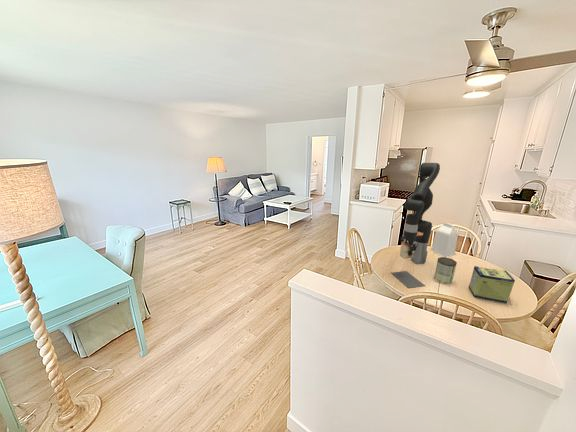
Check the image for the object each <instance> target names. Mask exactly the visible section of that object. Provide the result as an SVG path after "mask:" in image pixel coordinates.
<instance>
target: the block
mask: <svg viewBox="0 0 576 432" xmlns="http://www.w3.org/2000/svg"><path fill="white" fill-rule="evenodd" d="M412 245H413V244H412ZM412 245H410V246H412ZM408 246H409V245H408V244H407V243H404V242H402V243H401V242H400V249H399V251H400V252H399V257H400V258H402V259H404V260H408V259H411V258H414V251H412V255H411V256H408V251H409V247H408ZM410 248H411V247H410Z"/></svg>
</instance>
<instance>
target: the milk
mask: <svg viewBox="0 0 576 432" xmlns="http://www.w3.org/2000/svg"><path fill="white" fill-rule="evenodd" d="M458 235H459V233H458V232H457V230H456V229H455V225H454V224H452V223H448V222H444V223H443V224H441V226H440V227H439V228H438V229H437V230H436V231H435V235H434V239H433V242H432V246H431V250H430V252H431V251H433V252H432V253H434V252H435V253H434V254H436V253H437V255H438V254H439V256H441V255H442V256H441V257H443V256H444V257H446V258H448V257H447V256H449V257H451V256H450V255H452V256H454V254H455V255H456V251H457V250H456V249H457V242H458Z"/></svg>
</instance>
